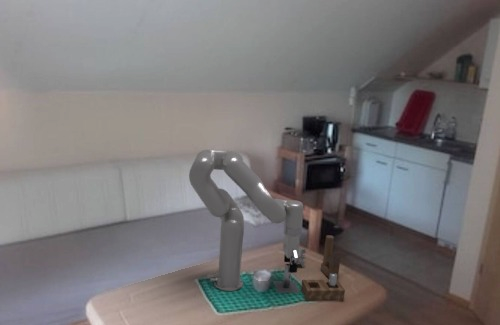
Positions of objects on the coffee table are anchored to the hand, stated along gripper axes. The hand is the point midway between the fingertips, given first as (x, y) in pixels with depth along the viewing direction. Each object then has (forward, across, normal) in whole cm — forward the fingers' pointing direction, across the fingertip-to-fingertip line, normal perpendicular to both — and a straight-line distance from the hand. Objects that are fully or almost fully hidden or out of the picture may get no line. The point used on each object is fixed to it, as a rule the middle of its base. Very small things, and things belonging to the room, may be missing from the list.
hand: (290, 266), depth 191 cm
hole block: (+10, +7, +13) cm, 18 cm away
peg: (+9, 0, -1) cm, 9 cm away
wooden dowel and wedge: (+11, -11, +22) cm, 27 cm away
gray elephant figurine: (+10, -23, +9) cm, 27 cm away
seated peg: (+10, +7, +17) cm, 21 cm away
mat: (+10, 0, -1) cm, 10 cm away
